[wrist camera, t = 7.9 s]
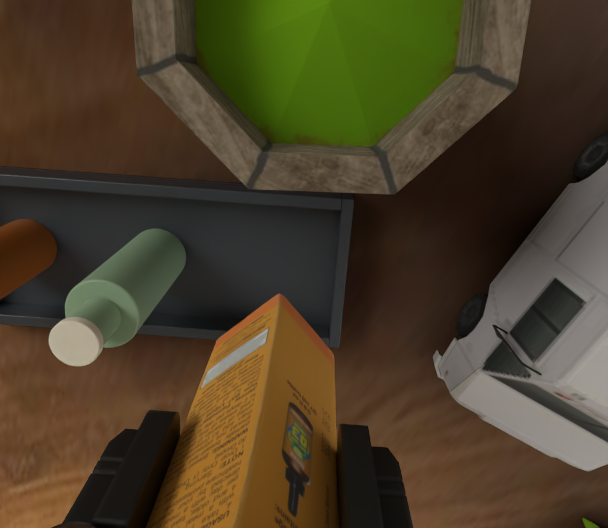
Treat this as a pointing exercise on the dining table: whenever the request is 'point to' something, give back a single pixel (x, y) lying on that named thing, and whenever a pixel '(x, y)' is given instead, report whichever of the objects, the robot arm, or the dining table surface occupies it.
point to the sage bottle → (117, 297)
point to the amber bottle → (24, 253)
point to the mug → (329, 82)
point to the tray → (186, 247)
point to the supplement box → (258, 432)
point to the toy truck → (545, 329)
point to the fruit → (589, 524)
